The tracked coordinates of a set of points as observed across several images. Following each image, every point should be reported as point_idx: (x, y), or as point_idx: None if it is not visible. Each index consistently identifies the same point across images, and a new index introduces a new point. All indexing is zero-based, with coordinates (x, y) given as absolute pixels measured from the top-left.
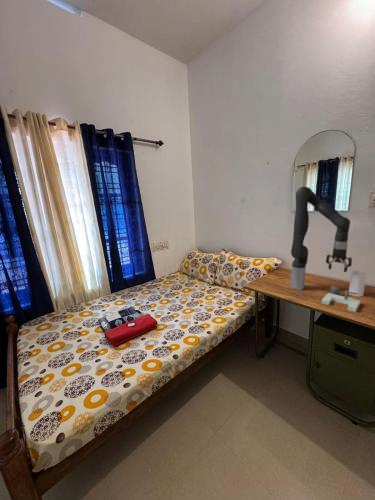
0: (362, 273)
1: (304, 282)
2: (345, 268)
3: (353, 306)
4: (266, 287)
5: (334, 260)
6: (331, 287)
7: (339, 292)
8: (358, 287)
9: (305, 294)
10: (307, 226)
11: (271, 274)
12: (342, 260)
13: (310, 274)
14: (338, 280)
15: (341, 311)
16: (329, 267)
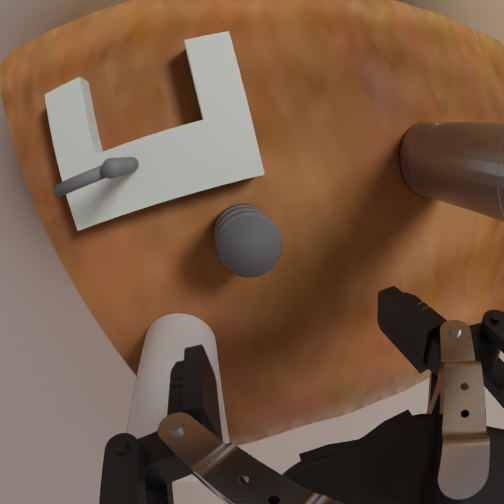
0: None
1: (429, 172)
2: (183, 390)
3: (59, 104)
4: (480, 63)
5: (449, 414)
6: (272, 224)
7: (215, 239)
8: (148, 355)
9: (355, 90)
10: None
11: None
12: None
13: (427, 371)
14: (321, 414)
15: (102, 40)
16: (409, 298)
